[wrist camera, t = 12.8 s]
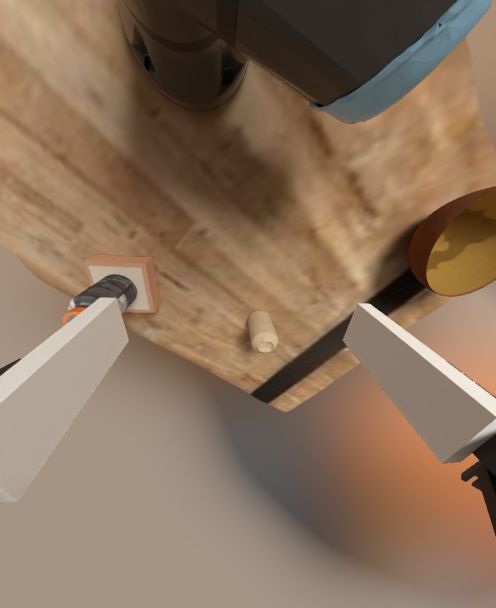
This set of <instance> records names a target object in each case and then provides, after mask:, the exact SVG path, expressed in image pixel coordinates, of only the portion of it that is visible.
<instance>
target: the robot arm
mask: <svg viewBox="0 0 496 608" xmlns="http://www.w3.org/2000/svg"><path fill="white" fill-rule="evenodd" d="M491 3H492V0H117V4H118V9H119V13H120V17H121V21H122V24H123V27H124V30H125V33H126V36H127V38H128V41H129V43H130V45H131V48H132V50H133V52H134V54H135V56H136V58H137V60H138V61H139V63H140V65H141V66H142V68H143V69H144V71H145V72H146V74H147V75H148V77H149V78H150V80H151V81H152V82H153V84H154V85H155V86H156V87H157V89H158V90H159V91H160V92H161V93H162V94H163V95H164V96H166V97H167V98H168V99H169V100H171V101H172V102H174V103H175V104H177V105H179V106H181V107H183V108H186V109H189V110H193V111H207V110H211V109H214V108H217V107H219V106H220V105H222V104H223V103H225V102H226V101H227V100H228V99H229V98H230V97H231V96H232V95H233V94H234V93H235V91H236V90H237V88H238V87H239V85H240V83H241V81H242V79H243V77H244V75H245V72H246V69H247V66H248V62H249V60H250V61H252V62H253V63H255V64H256V65H257V66H259V67H260V68H262V69H263V70H264V71H266V72H267V73H269V74H270V75H271V76H273V77H274V78H276V79H277V80H279V81H280V82H281V83H283V84H284V85H286V86H287V87H288V88H290V89H291V90H293V91H294V92H295V93H297V94H298V95H300V96H301V97H303V98H304V99H305V100H307V101H308V102H310V106H311V107H312V108H314V109H315V110H318V111H325V112H326V113H328V114H330V115H331V116H333V117H335V118H336V119H338V120H340V121H341V122H343V123H347V124H354V123H357V122H361V121H366V120H369V119H371V118H373V117H375V116H377V115H379V114H380V113H382V112H384V111H385V110H387V109H388V108H390V107H391V106H392V105H394V104H395V103H397V102H398V101H399V100H400V99H402V98H403V97H404V96H405V95H407V94H408V93H409V92H410V91H411V90H412V89H414V88H415V87H416V86H417V85H418V84H419V83H420V82H421V81H422V80H424V79H425V78H426V77H427V76H428V75H429V74H430V73H431V72H432V71H433V70H434V69H435V68H436V67H437V66H438V65H439V64H440V63H441V62H442V61H443V60H444V59H445V58H446V57H447V56H448V55H449V54H450V53H451V52H452V51H453V50H454V49H455V48H456V47H457V46H458V44H459V43H460V42H461V41H462V40H463V39H464V38H465V37H466V35H467V34H468V33H469V32H470V31H471V30H472V28H473V27H474V26H475V25H476V24H477V22H478V21H479V20H480V19H481V18H482V17H483V15H484V14H485V13H486V12H487V11H488V9H489V8H490V6H491ZM128 341H129V339H128V336H127V332H126V329H125V325H124V322H123V318H122V315H121V311H120V308H119V304H118V301H117V298H99V299H98V300H96V301H95V302H94V303H93V304H91V305H90V306H89V307H88V308H86V309H85V310H84V311H82V312H81V313H80V314H79V315H77V316H76V317H75V318H74V319H72V320H71V321H70V322H68V323H67V324H66V325H65V326H63V327H62V328H61V329H60V330H58V331H57V332H56V333H54V334H53V335H52V336H51V337H49V338H48V339H47V340H46V341H44V342H43V343H42V344H40V345H39V346H38V347H37V348H35V349H34V350H33V351H32V352H30V353H29V354H28V355H26V356H25V357H24V358H23V359H18V360H16V361H14V362H12V363H10V364H8V365H6V366H5V367H3V368H1V369H0V503H3V502H15V501H19V500H20V498H21V497H22V495H23V494H24V492H25V491H26V489H27V488H28V486H29V485H30V484H31V482H32V481H33V479H34V478H35V476H36V475H37V473H38V472H39V470H40V469H41V468H42V466H43V465H44V463H45V462H46V460H47V459H48V457H49V456H50V454H51V453H52V452H53V450H54V449H55V447H56V446H57V444H58V443H59V441H60V440H61V439H62V437H63V436H64V434H65V433H66V431H67V430H68V428H69V427H70V426H71V424H72V423H73V421H74V420H75V418H76V417H77V415H78V414H79V412H80V411H81V409H82V408H83V406H84V405H85V404H86V402H87V401H88V399H89V398H90V397H91V395H92V394H93V392H94V391H95V389H96V388H97V386H98V385H99V383H100V382H101V380H102V379H103V378H104V376H105V374H106V373H107V372H108V370H109V369H110V367H111V366H112V365H113V363H114V362H115V360H116V359H117V357H118V356H119V354H120V353H121V352H122V350H123V349H124V347H125V346H126V344H127V343H128ZM343 341H344V342H345V344H346V345H347V346H348V347H349V349H350V350H351V351H352V352H353V354H354V355H355V356H356V357H357V359H358V360H359V361H360V362H361V364H362V365H363V366H364V367H365V368H366V370H367V371H368V372H369V374H371V376H372V377H373V379H374V380H375V381H376V382H377V383H378V385H379V386H380V387H381V388H382V390H383V391H384V392H385V393H386V395H387V396H388V397H389V398H390V400H391V401H392V402H393V403H394V405H395V406H396V407H397V408H398V410H399V411H400V412H401V413H402V415H403V416H404V417H405V418H406V420H407V421H408V422H409V423H410V425H411V426H412V427H413V428H414V430H415V431H416V432H417V433H418V434H419V436H420V437H421V438H422V439H423V441H424V442H425V443H426V444H427V446H428V447H429V448H430V449H431V451H432V452H433V453H434V454H435V456H436V457H437V458H438V459H439V461H440V462H441V463H454V462H461V461H462V460H464V459H465V458H466V457H468V456H469V455H470V454H472V453H473V454H474V455H475V456H476V457H477V458H478V459H479V460H480V461H478V462H477V463H475V464H474V465H473V466H471V467H470V468H468V469H467V470H466V471H464V472H463V473H462V474H461V479H462V480H463V481H465V482H466V481H468V480H469V479H471V478H472V477H473V476H477V477H478V479H477V480H475V481H474V482H473V483H472V486H474V487H475V488H477V489H479V490H481V491H482V493H483V497H484V500H485V503H486V506H487V509H488V513H489V516H490V519H491V522H492V526H493V529H494V532H495V535H496V397H495V396H493V395H492V394H490V393H489V392H488V391H487V390H485V389H484V388H483V387H481V386H480V385H479V384H477V383H475V382H473V380H472V379H470V378H469V377H468V376H466V375H465V374H463V373H461V371H460V370H459V369H457V368H456V367H454V366H453V365H452V364H450V363H449V362H447V361H445V360H444V359H443V358H441V357H440V356H439V355H437V354H436V353H434V352H433V351H432V350H431V349H429V348H428V347H427V346H425V345H424V344H422V343H421V342H420V341H419V340H417V339H416V338H415V337H413V336H412V335H411V334H409V333H408V332H406V331H405V330H404V329H403V328H401V327H400V326H399V325H397V324H396V323H395V322H393V321H392V320H391V319H389V318H388V317H387V316H385V315H384V314H383V313H381V312H380V311H379V310H377V309H376V308H375V307H373V306H372V305H371V304H357V306H356V309H355V311H354V314H353V316H352V319H351V321H350V324H349V326H348V329H347V331H346V334H345V336H344V339H343Z"/></svg>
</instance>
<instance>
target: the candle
mask: <svg viewBox="0 0 496 608" xmlns="http://www.w3.org/2000/svg"><path fill="white" fill-rule="evenodd" d="M248 326H249V332H250V339H251V345H252V348H253V349H254V350H255V351H256V352H258V353H269V352H271V351H273V350H274V349H275V348H276V347H277V345H278V337H277V334H276V332H275V329H274V326H273V323H272V320H271V318H270V315H269V314H268V313H267V312H266V311H263V310H257V311H254V312H252V313H251V314H250V315H249V317H248Z"/></svg>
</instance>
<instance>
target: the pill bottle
mask: <svg viewBox="0 0 496 608" xmlns="http://www.w3.org/2000/svg"><path fill="white" fill-rule="evenodd" d="M136 297H137V288H136V286H135V284H134V283H133V282H132V281H131V280H130V279H129V278H127V277H125V276H123V275H120V274H111V275H108V276H106V277H104V278H103V279H101V280H100V281H98V282H97V283H95V284H94V285H92V286H91V287H89V288H88V289H86V290H85V291H83V292H82V293H80V294H79V295H77V296H76V297H75V298H73V299H72V300H71V302H70V303H69V306H68V312H67V313H66V314H65V315H64V316H63V318H62V324H63V326H65V325H66V324H67V323H68V322H70V321H71V320H72V319H74V318H75V317H76V316H77V315H79V314H80V313H81V312H82V311H84V310H85V309H86V308H88V307H89V306H90V305H91V304H93V303H94V302H95V301H96V300H98V299H99V298H117V301H118V304H119V308H120V311H121V315H122V314H123V313H124V311H125V310H126V309H127V308H128V307H129V306H130V305H131V304H132V302H133V301H134V300H135V299H136Z"/></svg>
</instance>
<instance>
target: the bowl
mask: <svg viewBox="0 0 496 608" xmlns="http://www.w3.org/2000/svg"><path fill="white" fill-rule="evenodd" d="M408 262H409V265H410V268H411V270H412V272H413V274H414V275H415V277H416V278H417V279H418V280H419V281H420V282H421V283H422V284H423V285H424V286H425V287H427V288H428V289H429V290H431V291H433V292H435V293H437V294H439V295H442V296H449V297H453V296H460V295H465V294H469V293H471V292H474V291H476V290H478V289H481V288H483V287H485V286H487V285H488V284H490V283H492V282H493V281H495V280H496V186H495V187H491V188H486V189H482V190H479V191H476V192H473V193H470V194H467V195H465V196H462V197H460V198H457V199H455V200H453V201H451V202H449V203H447V204H446V205H444V206H442V207H440V208H439V209H437V210H436V211H434V212H433V213H432V214H431V215H429V216H428V217H427V218H426V219H425V220H424V221H423V222H422V223H421V224H420V226H419V227H418V228H417V230H416V231H415V233H414V234H413V236H412V238H411V241H410V244H409V248H408Z"/></svg>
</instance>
